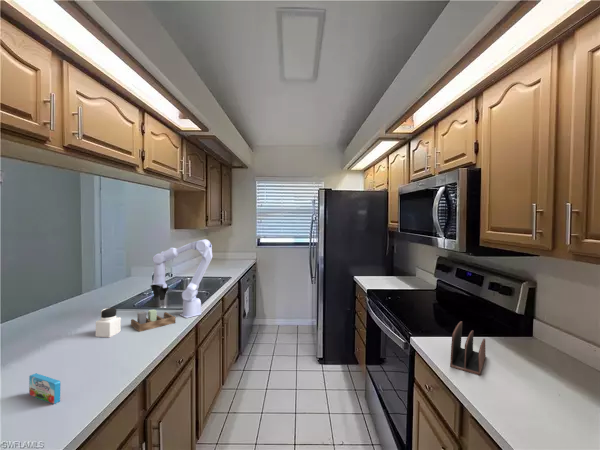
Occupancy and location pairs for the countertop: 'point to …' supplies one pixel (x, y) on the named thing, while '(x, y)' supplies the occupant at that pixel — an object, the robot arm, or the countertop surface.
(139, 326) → the comb rack
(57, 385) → the yogurt
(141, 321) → the gray block
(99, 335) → the medicine bottle
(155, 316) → the sage block
